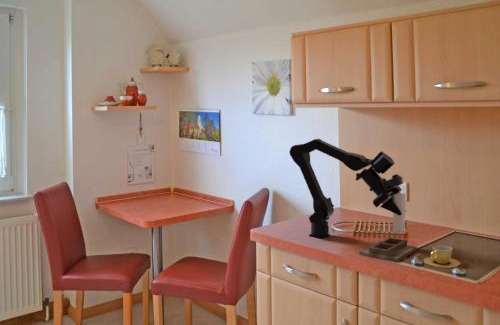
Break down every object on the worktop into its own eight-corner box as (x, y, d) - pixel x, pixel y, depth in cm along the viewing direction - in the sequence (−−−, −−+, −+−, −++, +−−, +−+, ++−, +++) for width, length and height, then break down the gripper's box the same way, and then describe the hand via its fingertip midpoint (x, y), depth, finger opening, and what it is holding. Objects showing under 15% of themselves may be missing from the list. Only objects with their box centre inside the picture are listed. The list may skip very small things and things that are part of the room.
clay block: (392, 232, 190) (393, 195, 189) (396, 229, 195) (397, 193, 193) (400, 233, 189) (402, 196, 187) (404, 230, 193) (405, 193, 191)
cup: (440, 255, 182) (440, 241, 181) (468, 265, 171) (469, 249, 171) (415, 261, 176) (415, 245, 176) (443, 271, 166) (443, 255, 165)
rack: (359, 254, 183) (359, 245, 183) (381, 243, 197) (381, 235, 197) (396, 262, 174) (396, 253, 174) (416, 250, 188) (417, 241, 188)
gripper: (382, 171, 183) (412, 204, 179) (396, 165, 199) (424, 195, 194) (360, 190, 188) (389, 223, 184) (376, 183, 204) (403, 213, 199)
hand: (402, 213), depth 190 cm, fingers closed on clay block, 5 cm apart
